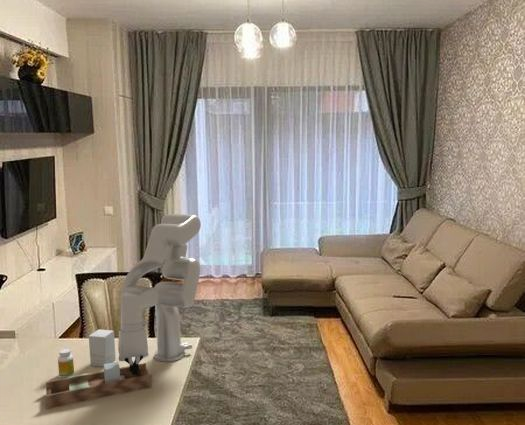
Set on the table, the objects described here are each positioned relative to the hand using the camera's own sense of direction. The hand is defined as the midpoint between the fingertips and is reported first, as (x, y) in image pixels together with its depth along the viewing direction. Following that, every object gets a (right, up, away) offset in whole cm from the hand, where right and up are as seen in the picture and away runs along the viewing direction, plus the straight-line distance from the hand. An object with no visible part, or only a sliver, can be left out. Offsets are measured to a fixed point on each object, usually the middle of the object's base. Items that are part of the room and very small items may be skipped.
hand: (134, 373), depth 177 cm
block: (-7, -2, -3) cm, 8 cm away
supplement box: (-17, -2, +18) cm, 25 cm away
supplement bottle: (-28, -3, +8) cm, 29 cm away
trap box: (-11, -5, -4) cm, 13 cm away
